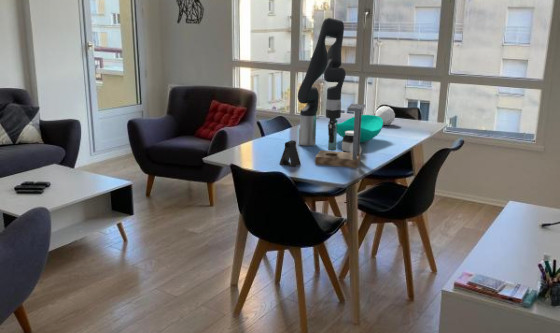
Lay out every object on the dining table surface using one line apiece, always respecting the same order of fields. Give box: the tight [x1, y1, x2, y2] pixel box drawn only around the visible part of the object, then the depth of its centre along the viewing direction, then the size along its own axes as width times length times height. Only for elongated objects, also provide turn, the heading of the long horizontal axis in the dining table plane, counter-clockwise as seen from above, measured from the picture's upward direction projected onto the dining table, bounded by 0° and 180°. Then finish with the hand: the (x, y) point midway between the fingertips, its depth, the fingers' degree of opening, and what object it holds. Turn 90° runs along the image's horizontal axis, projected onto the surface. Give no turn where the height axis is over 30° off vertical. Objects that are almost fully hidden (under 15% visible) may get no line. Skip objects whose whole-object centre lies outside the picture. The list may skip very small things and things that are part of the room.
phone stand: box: [279, 139, 302, 168], centre depth 278 cm, size 9×6×12 cm, turn 56°
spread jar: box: [341, 131, 362, 153], centre depth 301 cm, size 12×11×12 cm
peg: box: [327, 126, 338, 151], centre depth 281 cm, size 4×4×12 cm
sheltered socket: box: [314, 103, 366, 169], centre depth 280 cm, size 22×14×30 cm, turn 75°
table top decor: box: [337, 114, 384, 143], centre depth 329 cm, size 40×28×13 cm
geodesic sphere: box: [374, 105, 396, 126], centre depth 380 cm, size 14×14×14 cm
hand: (332, 141), depth 282 cm, fingers closed on peg, 4 cm apart
